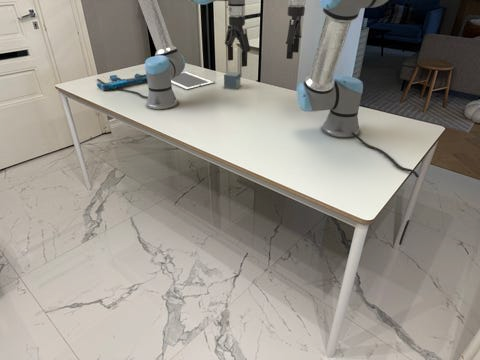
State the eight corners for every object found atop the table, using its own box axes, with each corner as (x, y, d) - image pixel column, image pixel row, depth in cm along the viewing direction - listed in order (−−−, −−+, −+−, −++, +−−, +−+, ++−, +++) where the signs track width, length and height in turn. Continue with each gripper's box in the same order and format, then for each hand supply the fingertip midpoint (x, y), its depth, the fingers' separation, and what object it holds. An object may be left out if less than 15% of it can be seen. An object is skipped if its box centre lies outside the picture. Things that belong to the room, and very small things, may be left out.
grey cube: (240, 85, 203) (240, 72, 199) (236, 89, 198) (236, 76, 193) (228, 84, 205) (228, 71, 201) (224, 88, 200) (223, 74, 196)
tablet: (159, 77, 217) (158, 76, 217) (185, 71, 228) (185, 71, 228) (186, 89, 197) (186, 89, 197) (214, 82, 208) (214, 82, 208)
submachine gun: (141, 68, 225) (159, 74, 208) (142, 74, 227) (160, 80, 210) (89, 78, 206) (104, 86, 190) (91, 84, 208) (106, 92, 192)
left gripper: (217, 13, 163) (218, 58, 175) (243, 19, 145) (243, 70, 157) (230, 12, 166) (231, 57, 178) (258, 18, 148) (257, 67, 160)
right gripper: (294, 2, 162) (290, 49, 174) (281, 8, 142) (278, 60, 154) (309, 3, 160) (305, 50, 171) (299, 9, 140) (294, 62, 152)
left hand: (237, 63), depth 167 cm, fingers open, 13 cm apart
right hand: (292, 55), depth 163 cm, fingers open, 13 cm apart
